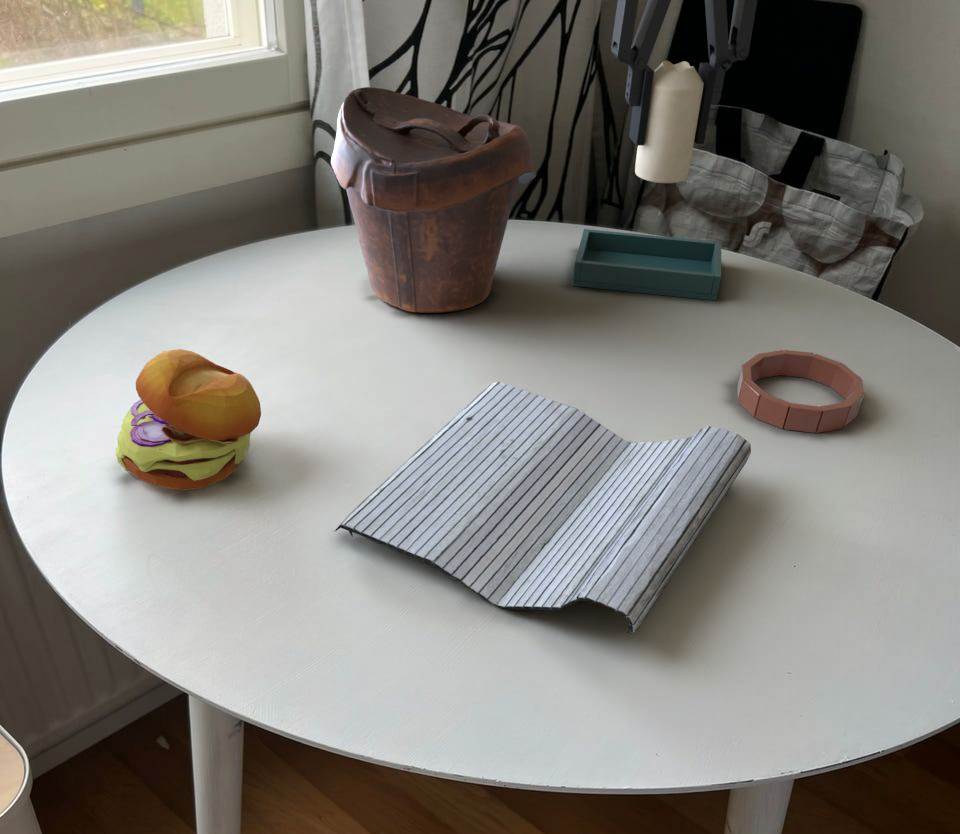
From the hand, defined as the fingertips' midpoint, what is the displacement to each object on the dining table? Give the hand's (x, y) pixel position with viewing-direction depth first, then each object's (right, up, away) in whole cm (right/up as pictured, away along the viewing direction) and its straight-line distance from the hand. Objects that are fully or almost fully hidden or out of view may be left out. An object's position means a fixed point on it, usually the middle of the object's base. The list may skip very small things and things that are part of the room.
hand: (666, 139), depth 95 cm
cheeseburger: (-42, -36, -18) cm, 58 cm away
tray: (0, -10, +10) cm, 14 cm away
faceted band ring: (+10, -29, -9) cm, 32 cm away
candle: (0, -3, +2) cm, 4 cm away
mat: (-14, -41, -22) cm, 48 cm away
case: (-24, -13, +6) cm, 28 cm away
